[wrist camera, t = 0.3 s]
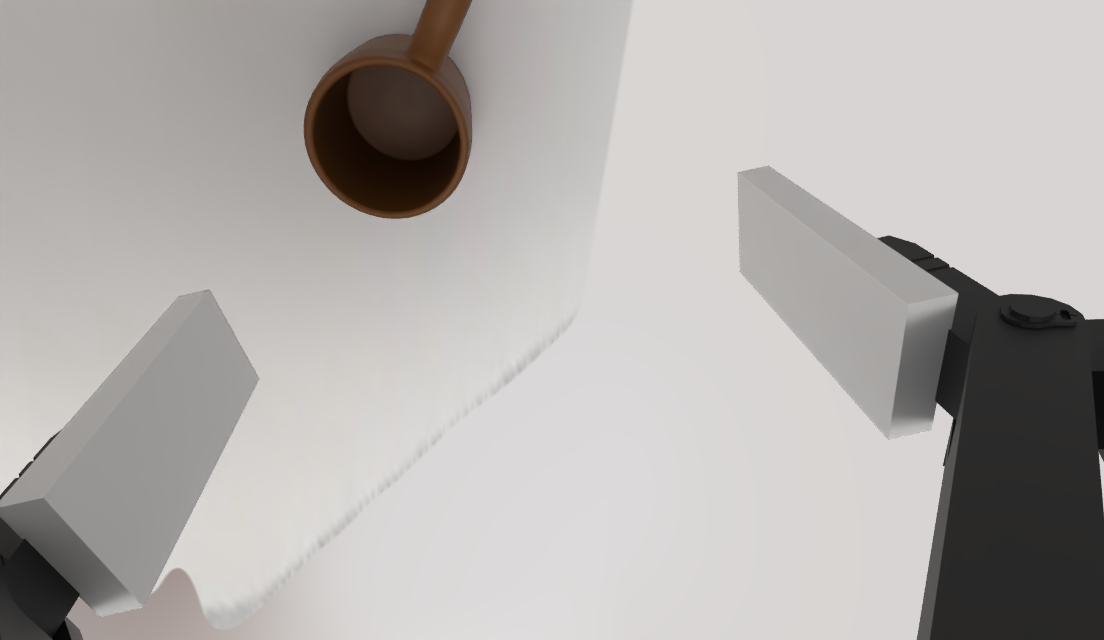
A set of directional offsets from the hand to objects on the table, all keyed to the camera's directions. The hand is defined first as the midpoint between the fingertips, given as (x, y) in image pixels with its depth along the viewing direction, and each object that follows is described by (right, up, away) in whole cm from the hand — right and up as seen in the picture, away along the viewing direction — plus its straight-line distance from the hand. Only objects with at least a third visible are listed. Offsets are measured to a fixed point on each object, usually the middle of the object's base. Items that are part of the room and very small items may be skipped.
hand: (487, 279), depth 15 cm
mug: (-6, +14, +19) cm, 24 cm away
